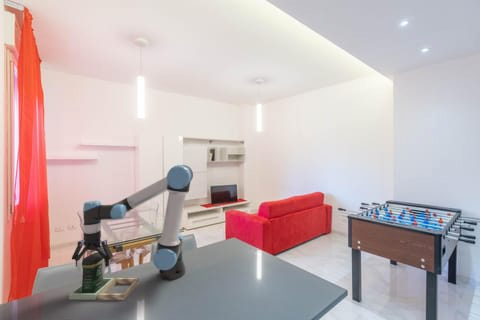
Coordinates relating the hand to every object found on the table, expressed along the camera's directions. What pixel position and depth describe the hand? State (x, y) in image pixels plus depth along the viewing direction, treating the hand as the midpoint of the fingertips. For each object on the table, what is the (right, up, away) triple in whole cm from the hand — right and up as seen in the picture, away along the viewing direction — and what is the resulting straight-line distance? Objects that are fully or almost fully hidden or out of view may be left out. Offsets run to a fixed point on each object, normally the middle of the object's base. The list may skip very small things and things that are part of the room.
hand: (92, 272), depth 116 cm
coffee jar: (0, -9, 0) cm, 9 cm away
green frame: (0, -9, 0) cm, 9 cm away
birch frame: (+14, -9, 0) cm, 17 cm away
